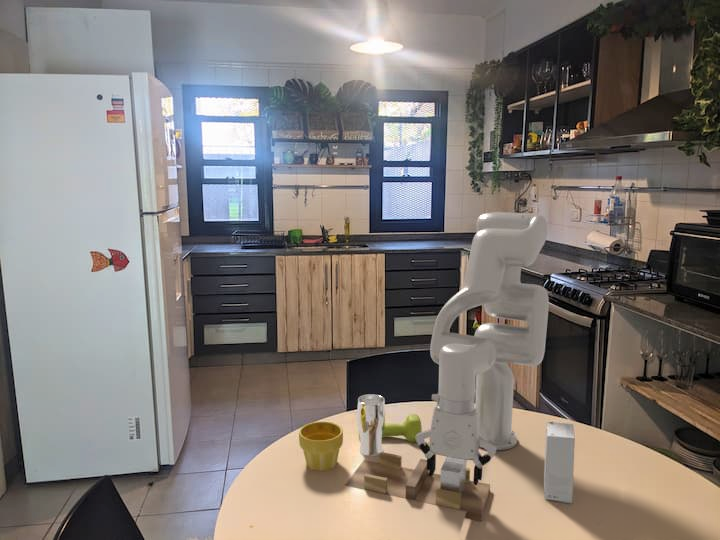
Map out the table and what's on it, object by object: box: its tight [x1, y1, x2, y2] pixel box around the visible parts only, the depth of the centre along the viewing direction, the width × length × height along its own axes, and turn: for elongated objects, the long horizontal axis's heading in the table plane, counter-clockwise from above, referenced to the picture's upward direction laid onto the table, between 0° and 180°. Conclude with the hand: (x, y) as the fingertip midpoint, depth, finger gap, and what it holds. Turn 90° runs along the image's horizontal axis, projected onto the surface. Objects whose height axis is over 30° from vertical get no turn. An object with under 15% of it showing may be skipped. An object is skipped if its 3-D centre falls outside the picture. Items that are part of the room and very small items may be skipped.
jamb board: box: [344, 451, 491, 522], centre depth 125 cm, size 12×30×4 cm, turn 69°
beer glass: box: [356, 393, 386, 457], centre depth 139 cm, size 7×7×15 cm
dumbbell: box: [358, 413, 423, 443], centre depth 147 cm, size 16×8×7 cm, turn 90°
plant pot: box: [298, 420, 344, 471], centre depth 134 cm, size 10×10×10 cm
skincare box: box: [543, 421, 576, 505], centre depth 124 cm, size 8×6×15 cm
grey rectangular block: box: [440, 456, 468, 496], centre depth 122 cm, size 8×4×7 cm, turn 159°
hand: (453, 477), depth 122 cm, fingers open, 9 cm apart
